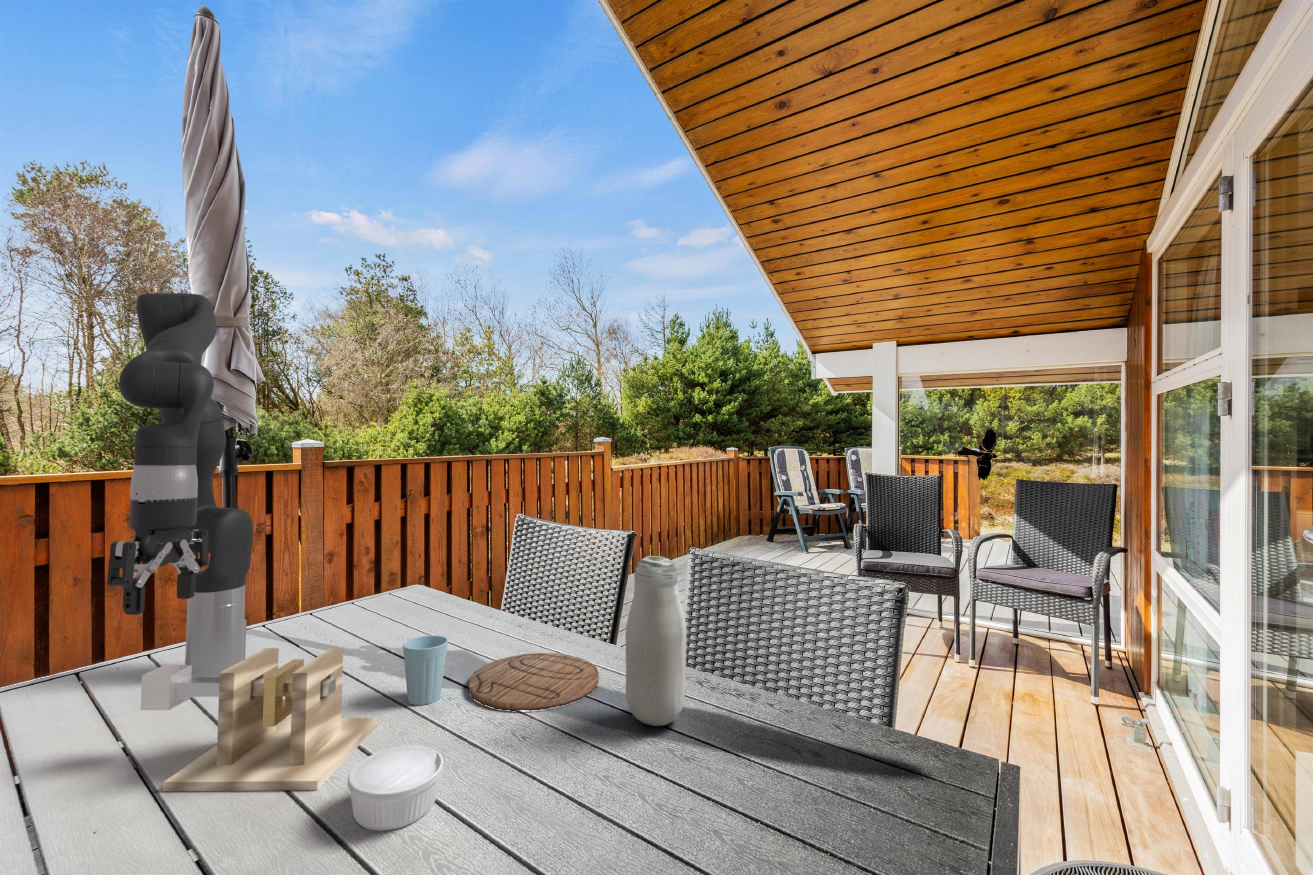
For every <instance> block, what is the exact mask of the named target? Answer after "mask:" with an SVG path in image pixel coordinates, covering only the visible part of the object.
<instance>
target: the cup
mask: <svg viewBox="0 0 1313 875" xmlns="http://www.w3.org/2000/svg"><path fill="white" fill-rule="evenodd" d="M448 643H449V639H448V638H447V637H446V636H442V635H436V634H435V635H431V634H430V635H422V636H416V637H413V638H410V639H409V638H408V640H406V641H404V642H403V643H402V650H403V651H402V652H403V661H404V670H405V671H404V672H405V683H406V693H407V702H408V703H409V704H410V705H412V704H413V706H426V705H430V704H433V703H436V702H438V700H440V697H441V694H442V688H443V687H442V686H443V681H444V679H443V678H444V672H445V666H446V658H447V650H448ZM432 702H433V703H432ZM425 704H426V705H425Z"/></svg>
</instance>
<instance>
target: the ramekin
mask: <svg viewBox="0 0 1313 875" xmlns="http://www.w3.org/2000/svg"><path fill="white" fill-rule="evenodd" d="M444 765H445V764H444V758H443V756H442V754H441V753H440V752H439V751H438V750H436V749H434V748H433V747H429V746H425V745H418V744H417V745H414V744H413V745H402V746H395V747H391V748H386V749H383V750H379V751H377V752H375V753H372V754H370V755H369V756H366V757H365V758H364V759H362V760H361V761H359V762H358V763H356V764H355V765H354V766H353V767H352V768H351V770H350V771H349V774H348V777H347V788H348V792H350V801H351V807H352V813H353V814H352V816H353V818H354V820H355V821H356V822H357V823H358V824H359V825H360V826H361V827H363V828H365V829H367V830H370V831H377V832H383V831H392V830H396V829H397V830H398V829H401V828H403V827H407V826H408V825H411V824H413V823H415V822H417V821H418V820H420V819H422V818H423V817H424V816H425V815H426V814H427V813H428V812H429V811H430V810H431V809H432V807H433V805H434V803H435V802H436V799H437V795H438V791H439V786H440V782H441V776H442V773H443V771H444Z"/></svg>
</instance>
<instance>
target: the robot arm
mask: <svg viewBox="0 0 1313 875" xmlns="http://www.w3.org/2000/svg"><path fill="white" fill-rule="evenodd" d="M136 314H137V320H138V323H139V328H140V331H141V335H142V339H143V343H144V346H145V349H146V350H145V351H144V352H141V353H140V354H138V355H136V356H135V357H133V358H132V359H130V360H129V361H128V362H127V363H126V364H125V366H124V367H123V369H122V370H121V372H120V375H119V377H118V378H119V379H118V388H119V392H120V394H121V396H122V397H123V399H124V400H125V401H126V402H128V403H129V404H131V405H132V406H135V407H139V408H144V409H159V412H160V420H161V423H155V424H147V425H143V426H141V427H138V428H137V429H136V431H135V436H134V453H133V454H134V456H133V457H134V458H133V462H134V463H133V471H132V475H131V479H130V495H129V496H130V501H129V524H128V525H129V528H130V529H131V530H133V531H134V538H133V540H132V541H122V540H121V541H120V540H119V541H113V542H111V544H110V547H109V548H110V549H109V559H108V571H107V581H106V583H107V586H109V587H119V588H121V589H122V609H123V612H124V614H125V615H127V616H138V615H141V614H144V612H145V609H146V608H145V607H146V606H145V604H146V586H144V585H145V584H146V582H147V580H148V579H149V578H150V576H151V575H152V574H154V573H155V572H157V571H158V568H159V567H163V566H166V565H168V564H170V565H172V566H174V568H175V569H176V571H177V572H178V573H179V574H176V575H177V576H176V579H177V580H176V598H177V599H180V600H187V601H186V602H187V603H186V605H187V607H186V627H185V628H186V632H185V657H184V658H185V659H184V660H185V661H184V665H192V675H191V678H194V677H220V672H222V671H224V670H226V669H228V668H230V667H232V666H234V665H235V664H237V663H239V662H241V661H243V660H245V659H246V645H247V644H246V643H247V642H246V641H247V639H246V638H247V619H246V618H245V610H246V609H245V606H246V602H245V601H246V580H247V579H246V578H247V577H248V576H247V575H248V573H249V571H250V567H251V564H252V563H251V562H252V552H253V541H254V523H253V519H252V516H251V515H250V514H249V513H248V512H247V511H246V510H244V509H242V508H237V507H218V506H217V504H216V499H215V493H214V485H213V483H214V476H215V473H216V470H217V468H218V466H219V464H220V462H221V459H222V458H223V455H224V452H225V449H226V445H227V436H226V430H225V424H224V419H223V413H222V410H221V409H220V407H219V405H218V404H217V403H216V401H215V400H214V399H212V395H213V393H214V387H215V381H214V377H213V375H212V373H211V372H210V371H209V369H208V368H206V366H203V365H202V359H203V355H204V353H205V351H207V350H208V348H209V347H210V346H211V344H212V342H213V341H214V339H215V337H216V334H217V320H216V313H215V311H214V307H213V305H212V302H210V300H209V299H208V298H207V297H206V296H204V295H202V294H197V293H183V292H182V293H181V292H180V293H178V292H174V293H173V292H172V293H169V292H168V293H167V292H164V293H161V292H160V293H159V292H157V293H156V292H150V293H149V292H147V293H141V294H140V295H138V296H137V300H136ZM197 554H199V558H197V556H198V555H197ZM142 563H143V564H142ZM203 567H204V568H205V569H203V570H200V569H201V568H203ZM121 569H122V574H121ZM120 574H121V576H120ZM136 576H137V577H136Z"/></svg>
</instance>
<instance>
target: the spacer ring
mask: <svg viewBox="0 0 1313 875" xmlns="http://www.w3.org/2000/svg"><path fill="white" fill-rule="evenodd" d="M304 665H305V659H296V658H295V659H291V660H290V661H289V662H286V663H285V664H284V665H281V666H280V667H278V669H277V670H275V671H274V672H272V673H271V674H269V675H267V676H266V677H264V704H263V727H274V726H276V725H277V724H278V723H280V722H281V721H282V720H283V719H285V718H288V717H289V716H290V715H291V710H292V696H283V685H284V684H285V683H287V682H288V681H290V680H291V679H292V678H293V672H295V671H296V670H298V669H299V668H301V667H302V666H304ZM283 697H285V698H283Z"/></svg>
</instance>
